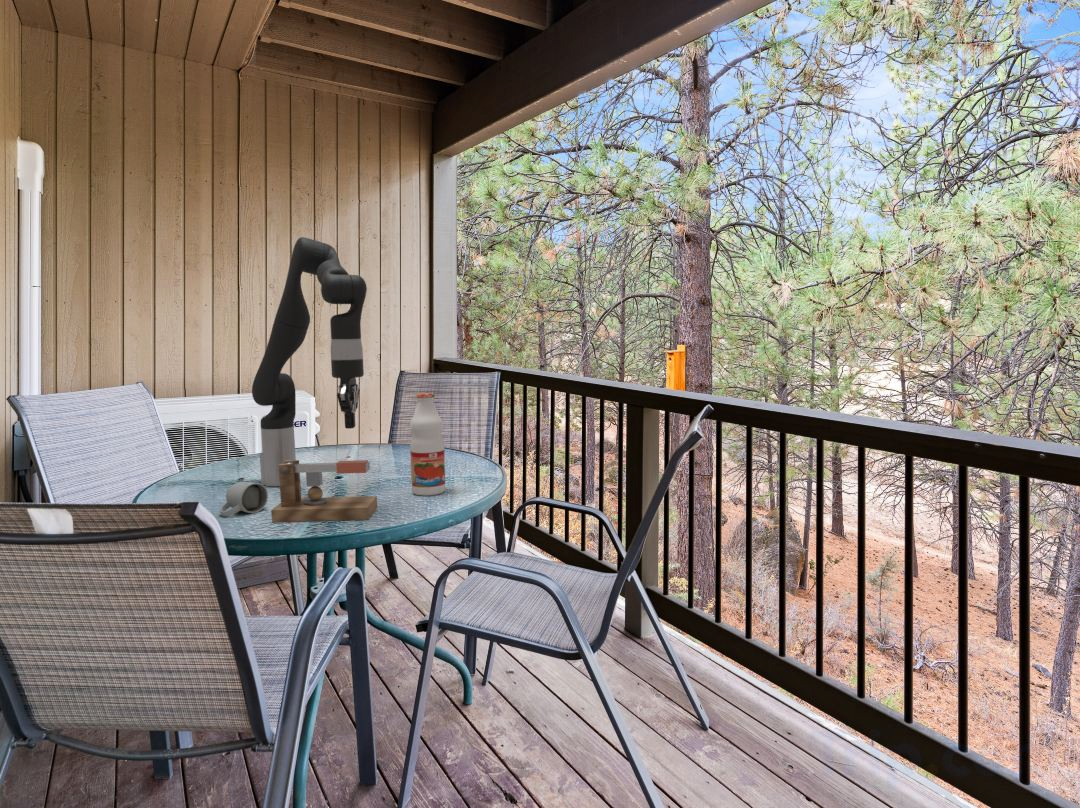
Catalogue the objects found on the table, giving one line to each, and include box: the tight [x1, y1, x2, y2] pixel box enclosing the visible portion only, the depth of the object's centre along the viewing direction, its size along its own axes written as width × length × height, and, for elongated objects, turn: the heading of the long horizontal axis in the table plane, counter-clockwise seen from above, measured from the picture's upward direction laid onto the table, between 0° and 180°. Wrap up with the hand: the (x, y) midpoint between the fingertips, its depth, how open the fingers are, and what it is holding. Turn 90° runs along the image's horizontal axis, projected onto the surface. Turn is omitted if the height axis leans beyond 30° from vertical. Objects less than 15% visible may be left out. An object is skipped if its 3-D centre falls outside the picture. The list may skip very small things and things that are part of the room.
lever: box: [286, 459, 371, 487], centre depth 165 cm, size 21×3×6 cm, turn 92°
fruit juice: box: [409, 392, 446, 497], centre depth 186 cm, size 9×9×28 cm
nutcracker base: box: [270, 459, 378, 523], centre depth 165 cm, size 23×11×14 cm, turn 92°
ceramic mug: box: [218, 481, 269, 518], centre depth 170 cm, size 11×8×8 cm
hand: (350, 427), depth 164 cm, fingers closed
